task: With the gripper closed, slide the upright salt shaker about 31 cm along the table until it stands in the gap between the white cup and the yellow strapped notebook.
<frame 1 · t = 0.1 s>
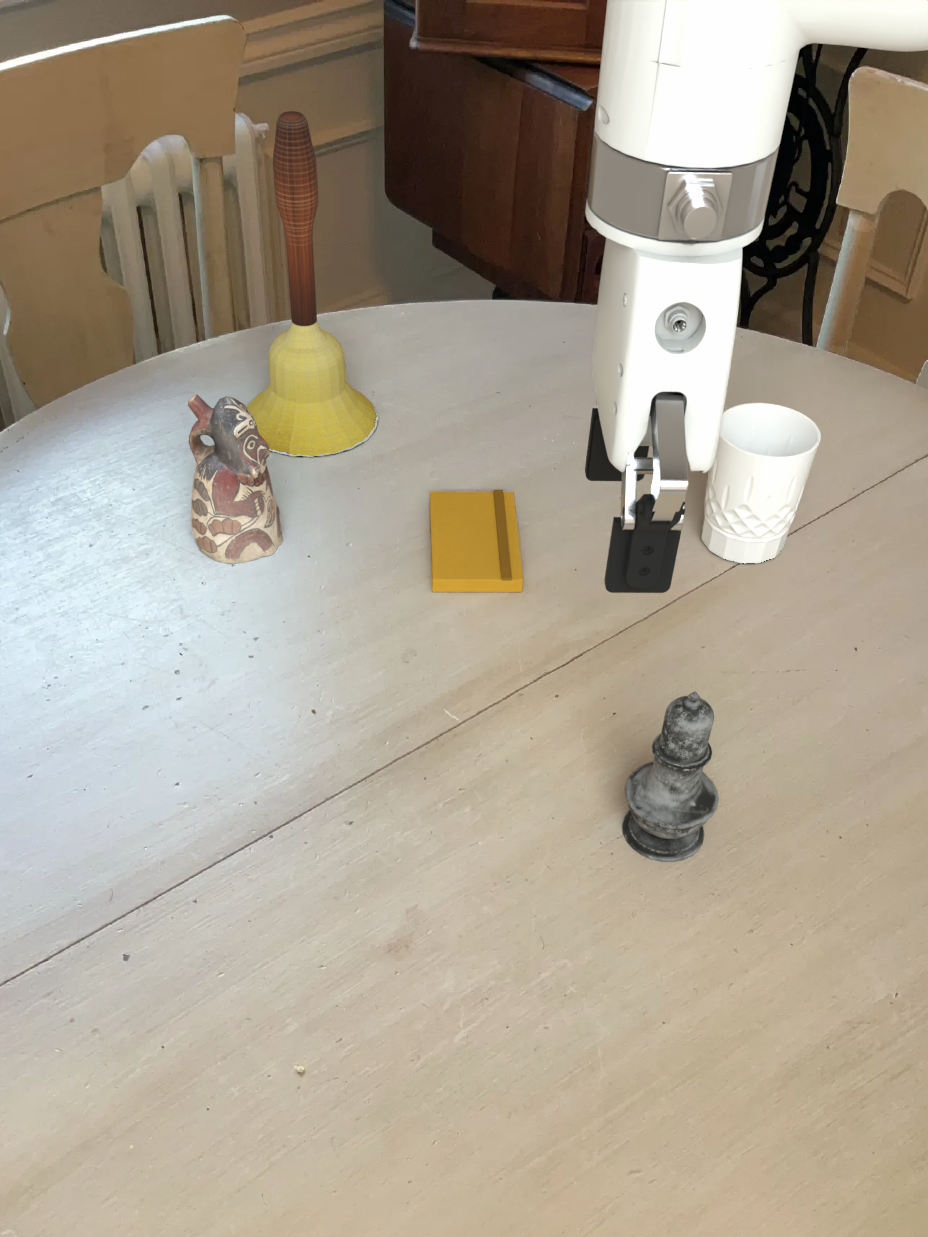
hand: (624, 531, 65), 22 cm above the table, tool pointing down, fingers open, 9 cm apart
yellow strapped notebook: (474, 546, 102), on the table
white cup: (741, 542, 103), on the table
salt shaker: (662, 833, 82), on the table
figurine: (238, 539, 102), on the table
handbell: (310, 422, 114), on the table
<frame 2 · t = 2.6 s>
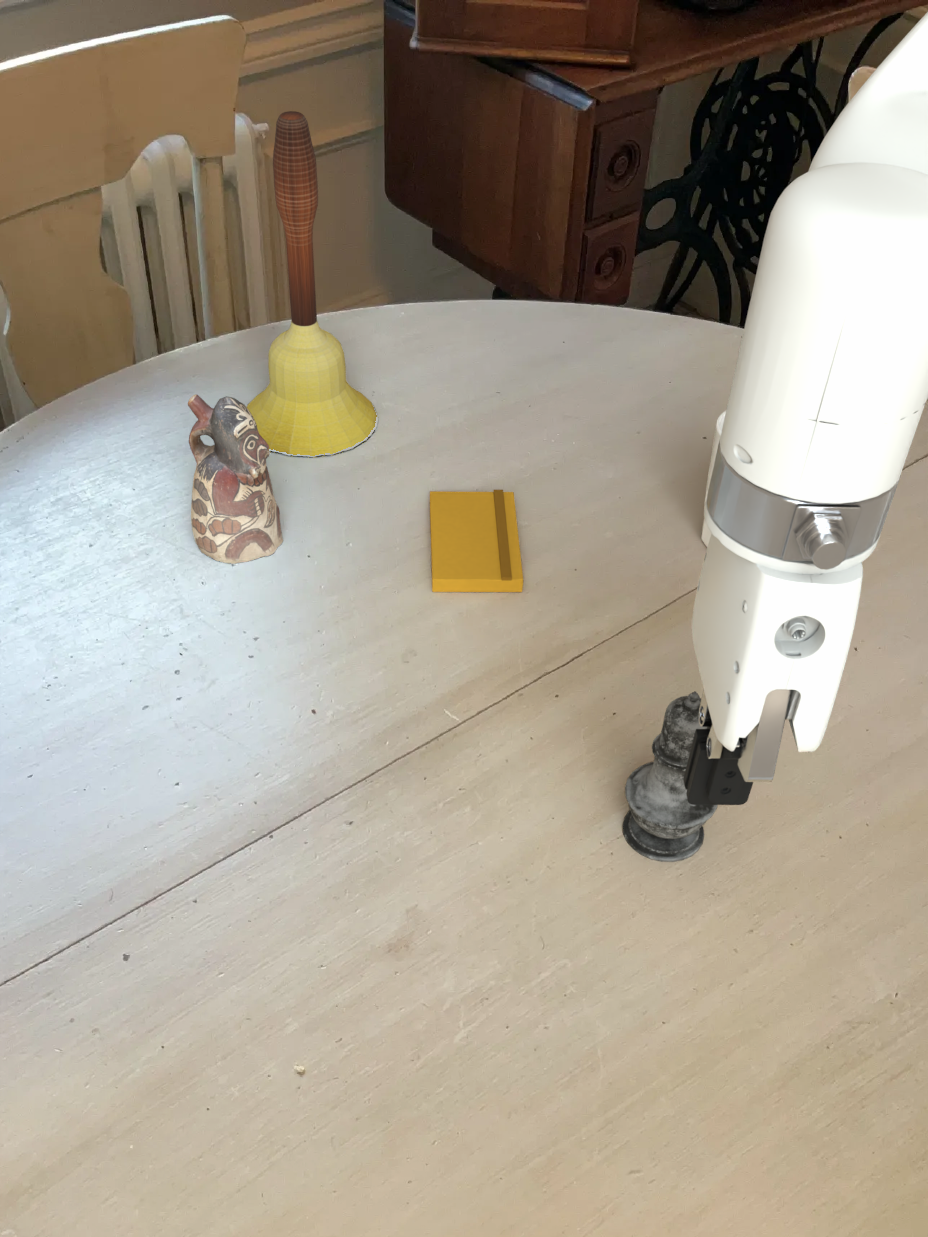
hand: (714, 793, 67), 12 cm above the table, tool pointing down, fingers closed
nothing on the table moved.
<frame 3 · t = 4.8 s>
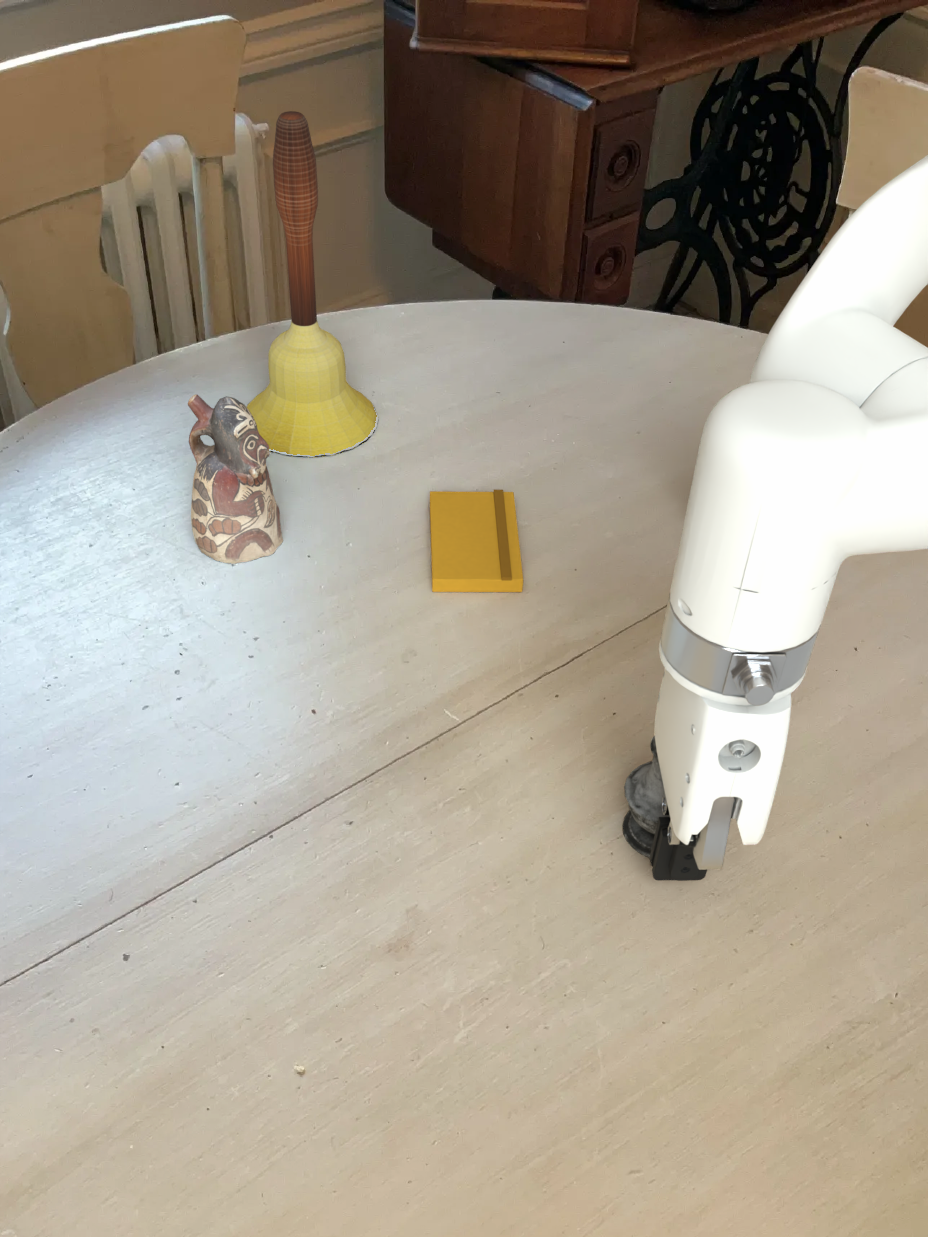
hand: (676, 870, 77), 2 cm above the table, tool pointing down, fingers closed
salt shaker: (662, 832, 82), on the table, touching gripper
everything else where it was.
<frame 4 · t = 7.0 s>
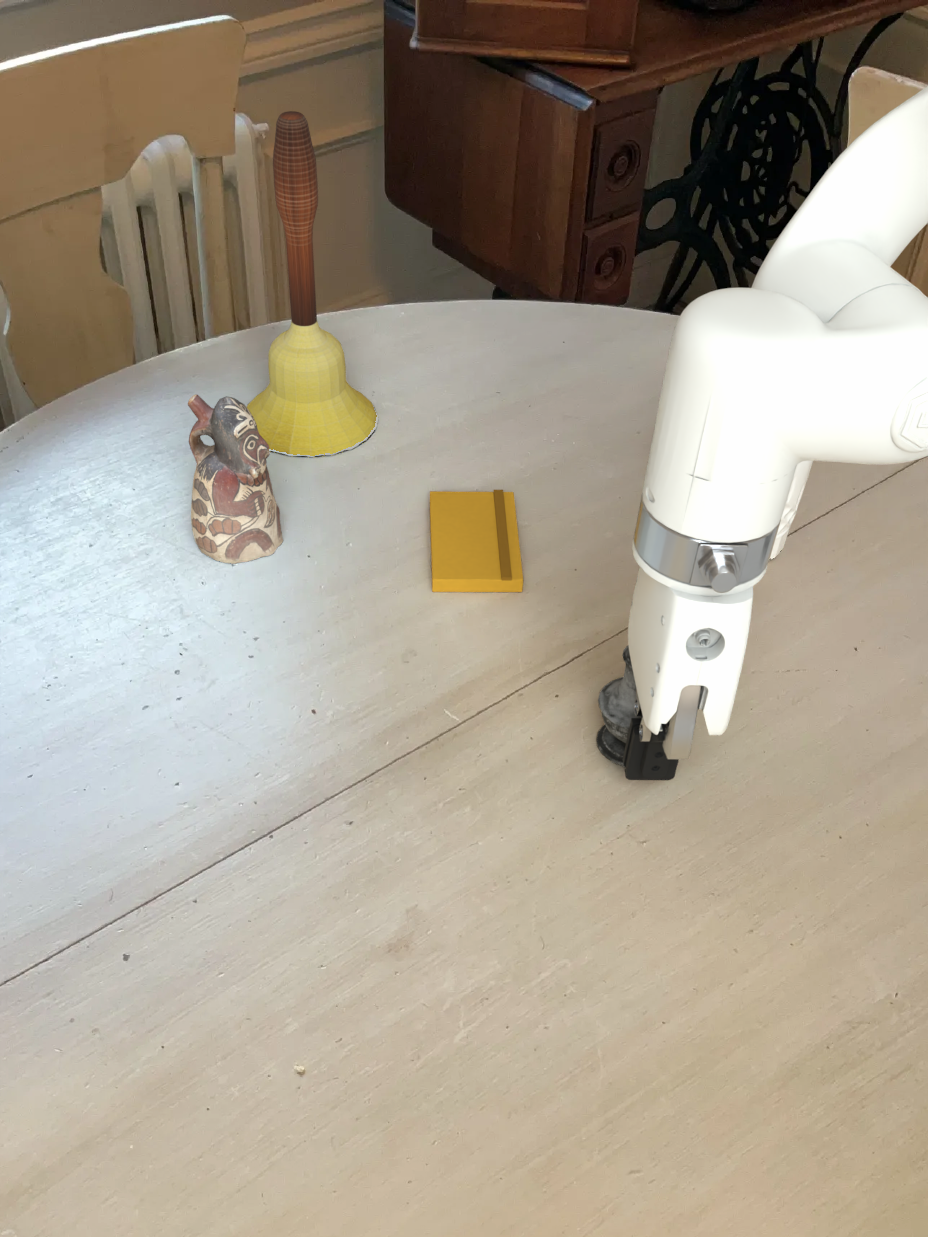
hand: (647, 771, 83), 2 cm above the table, tool pointing down, fingers closed
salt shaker: (634, 745, 87), on the table, touching gripper
everything else where it was.
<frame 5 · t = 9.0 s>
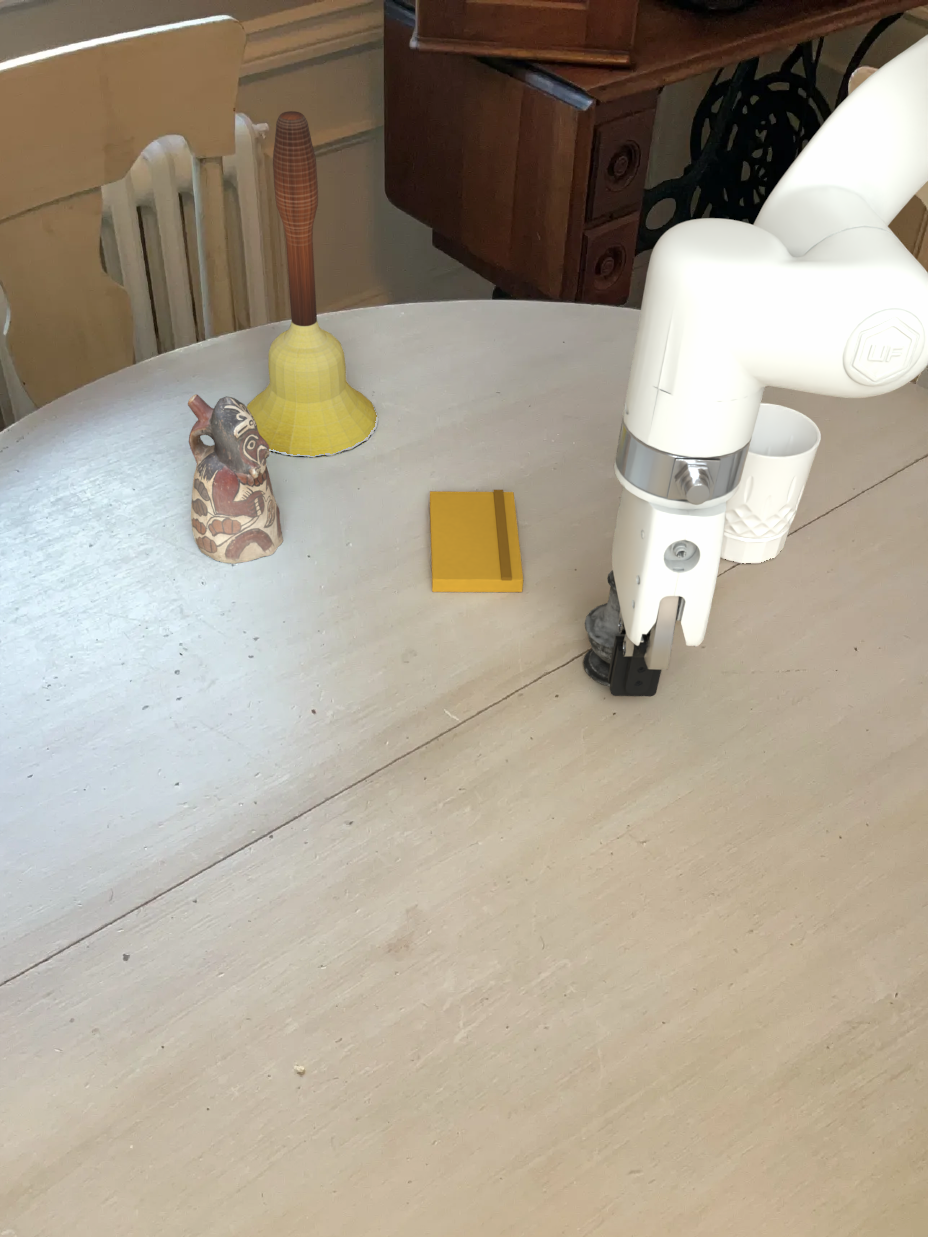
hand: (631, 688, 88), 2 cm above the table, tool pointing down, fingers closed
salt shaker: (618, 668, 92), on the table, touching gripper
everything else where it was.
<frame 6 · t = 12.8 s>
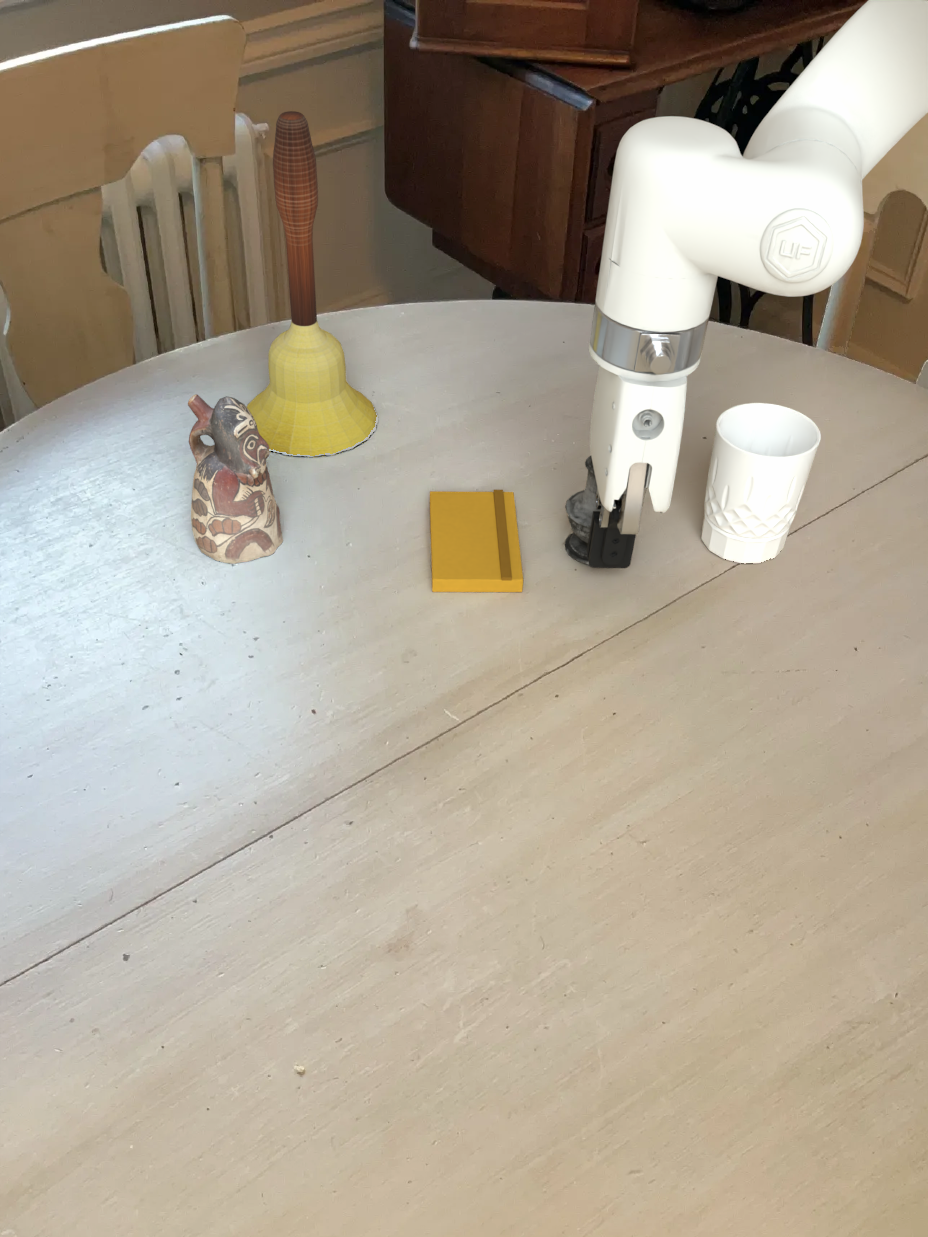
hand: (607, 561, 97), 2 cm above the table, tool pointing down, fingers closed
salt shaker: (596, 549, 102), on the table, touching gripper
everything else where it was.
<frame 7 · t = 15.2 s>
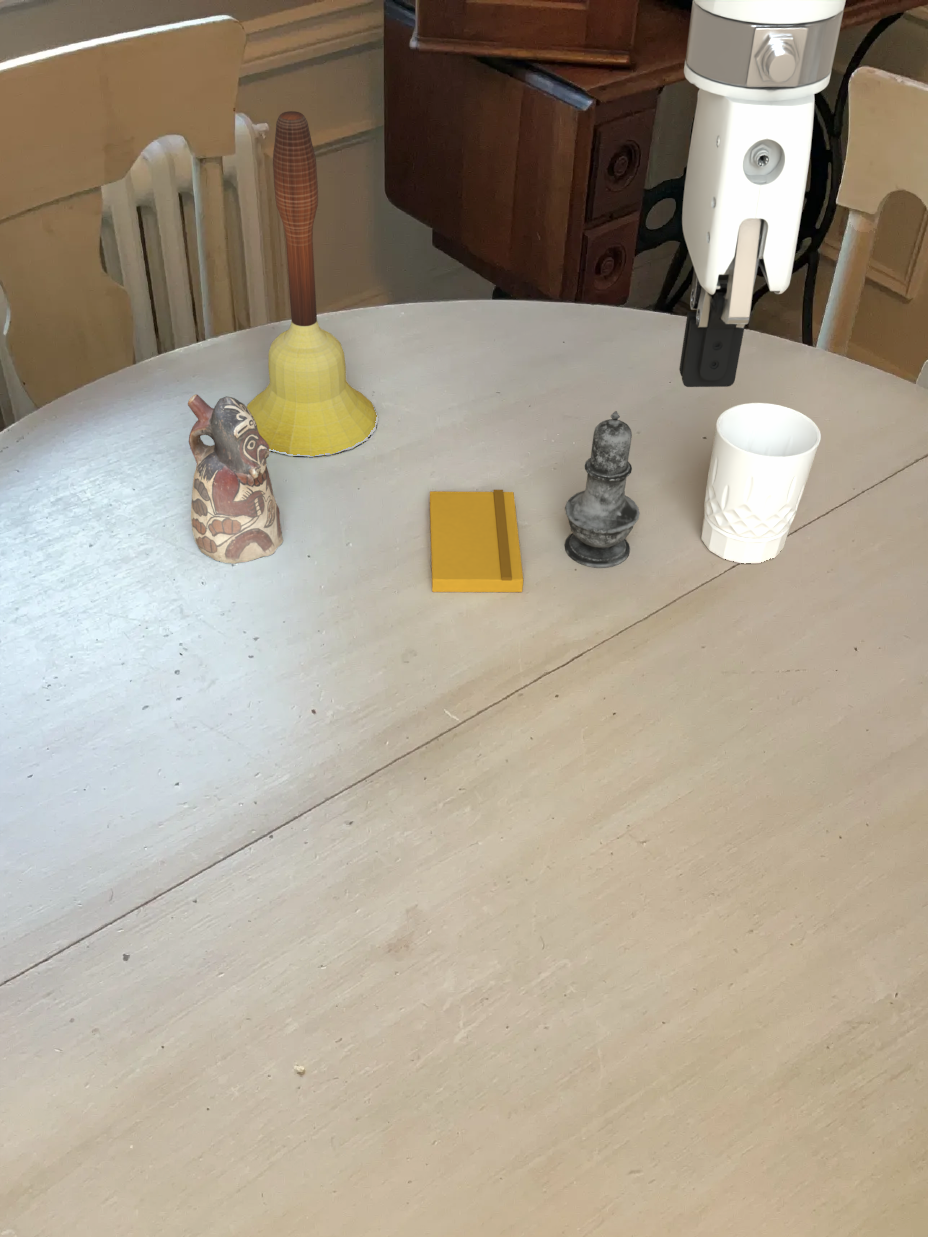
hand: (706, 379, 79), 21 cm above the table, tool pointing down, fingers closed
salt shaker: (596, 550, 102), on the table
everything else where it was.
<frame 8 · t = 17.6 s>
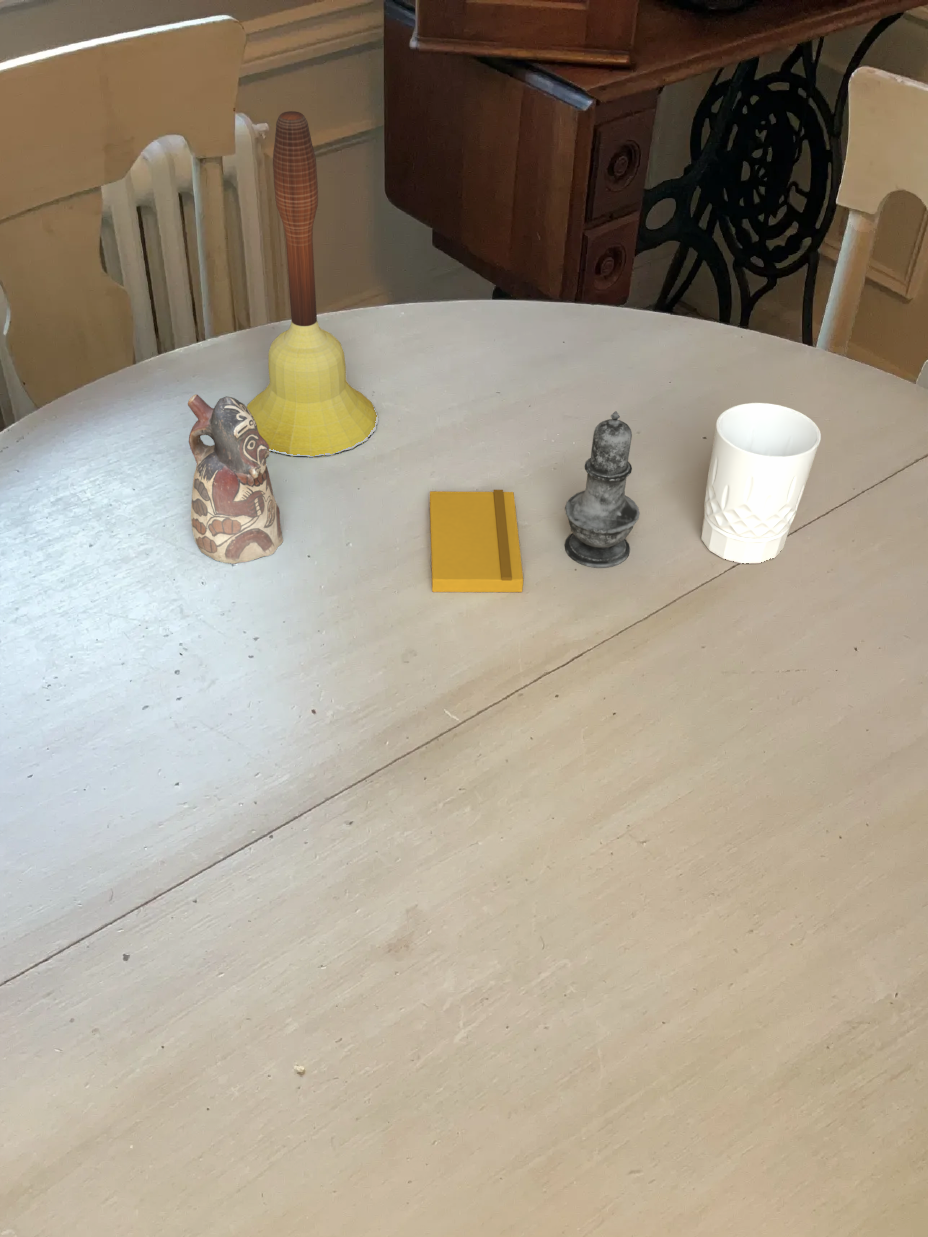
nothing on the table moved.
at the end: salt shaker inside the target area on the table beside the white cup (1.2 cm from its centre), on the table; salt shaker tilted 0°; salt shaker moved 30.9 cm from its start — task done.
